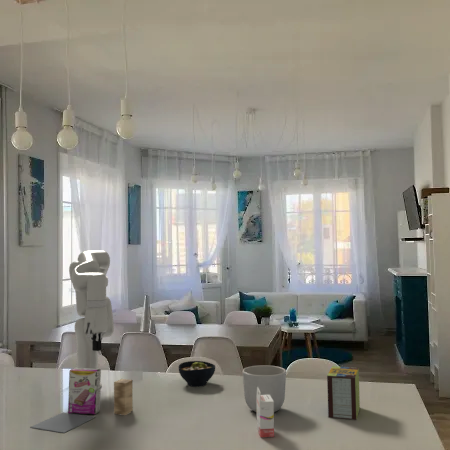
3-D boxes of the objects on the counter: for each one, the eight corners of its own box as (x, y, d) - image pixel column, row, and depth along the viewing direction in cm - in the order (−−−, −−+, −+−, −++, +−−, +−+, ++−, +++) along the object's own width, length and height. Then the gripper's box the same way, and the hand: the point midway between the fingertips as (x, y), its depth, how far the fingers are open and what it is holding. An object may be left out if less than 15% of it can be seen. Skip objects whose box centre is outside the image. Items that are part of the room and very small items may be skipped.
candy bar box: (67, 413, 194) (68, 370, 195) (72, 410, 199) (73, 367, 200) (95, 414, 193) (96, 370, 194) (100, 411, 198) (101, 368, 199)
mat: (30, 427, 180) (30, 426, 180) (63, 413, 196) (63, 412, 196) (63, 433, 174) (63, 432, 174) (95, 417, 190) (95, 416, 190)
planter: (262, 400, 208) (262, 363, 209) (295, 409, 196) (295, 369, 197) (233, 410, 196) (233, 370, 197) (267, 420, 184) (266, 378, 185)
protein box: (360, 407, 198) (359, 367, 199) (356, 420, 183) (355, 377, 184) (332, 405, 201) (331, 365, 202) (327, 417, 187) (326, 375, 187)
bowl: (187, 391, 223) (187, 368, 223) (173, 382, 238) (172, 361, 239) (222, 386, 231) (221, 364, 231) (205, 377, 246) (205, 357, 246)
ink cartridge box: (275, 437, 168) (274, 392, 169) (260, 438, 168) (259, 392, 168) (270, 428, 176) (269, 385, 177) (256, 428, 176) (255, 385, 177)
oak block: (114, 413, 194) (114, 382, 195) (121, 409, 199) (121, 378, 199) (125, 415, 192) (125, 383, 193) (132, 411, 197) (132, 380, 198)
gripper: (100, 302, 213) (100, 346, 212) (77, 306, 199) (77, 353, 198) (115, 302, 210) (115, 347, 209) (92, 306, 196) (92, 354, 195)
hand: (96, 350), depth 204 cm, fingers closed
